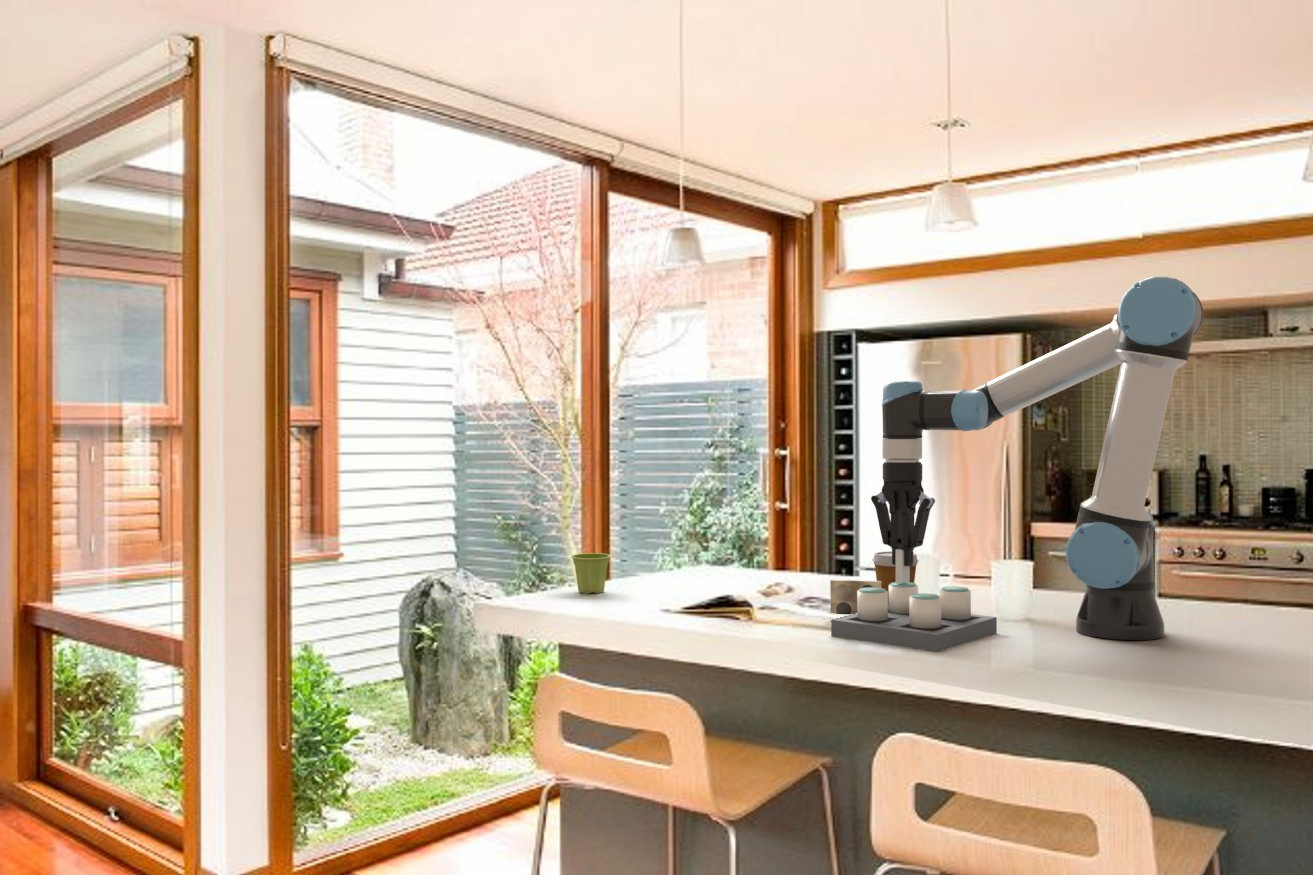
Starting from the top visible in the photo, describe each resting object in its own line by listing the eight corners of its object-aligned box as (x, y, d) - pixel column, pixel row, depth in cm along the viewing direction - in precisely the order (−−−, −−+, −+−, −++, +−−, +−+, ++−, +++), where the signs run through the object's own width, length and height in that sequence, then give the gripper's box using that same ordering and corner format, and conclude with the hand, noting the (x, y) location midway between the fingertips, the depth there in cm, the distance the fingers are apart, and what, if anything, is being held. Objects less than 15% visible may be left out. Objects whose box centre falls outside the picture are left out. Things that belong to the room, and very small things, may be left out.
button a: (976, 616, 202) (976, 587, 202) (961, 620, 198) (961, 591, 198) (949, 613, 206) (948, 585, 206) (934, 617, 202) (934, 588, 202)
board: (996, 633, 203) (996, 617, 202) (937, 652, 187) (937, 634, 187) (893, 619, 218) (893, 604, 218) (831, 635, 202) (831, 619, 202)
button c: (947, 624, 194) (947, 595, 194) (931, 629, 190) (931, 599, 190) (919, 621, 198) (919, 592, 198) (903, 625, 194) (903, 595, 194)
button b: (923, 610, 210) (923, 583, 210) (908, 614, 206) (908, 586, 206) (898, 607, 214) (898, 580, 214) (883, 611, 210) (883, 583, 210)
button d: (893, 617, 202) (893, 589, 202) (877, 621, 198) (877, 592, 198) (867, 614, 206) (867, 586, 206) (851, 618, 202) (851, 589, 202)
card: (881, 620, 216) (881, 581, 216) (881, 622, 215) (881, 581, 215) (831, 619, 218) (830, 579, 218) (830, 620, 217) (830, 580, 217)
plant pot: (618, 590, 259) (618, 554, 259) (596, 596, 251) (595, 558, 251) (587, 587, 264) (586, 552, 264) (563, 593, 256) (563, 556, 256)
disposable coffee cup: (919, 615, 222) (919, 556, 222) (872, 614, 224) (872, 556, 224) (918, 607, 231) (917, 551, 231) (872, 606, 233) (872, 550, 233)
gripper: (942, 461, 208) (942, 583, 208) (883, 459, 217) (883, 577, 217) (922, 462, 202) (922, 588, 203) (862, 460, 211) (863, 581, 212)
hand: (902, 582), depth 210 cm, fingers closed
